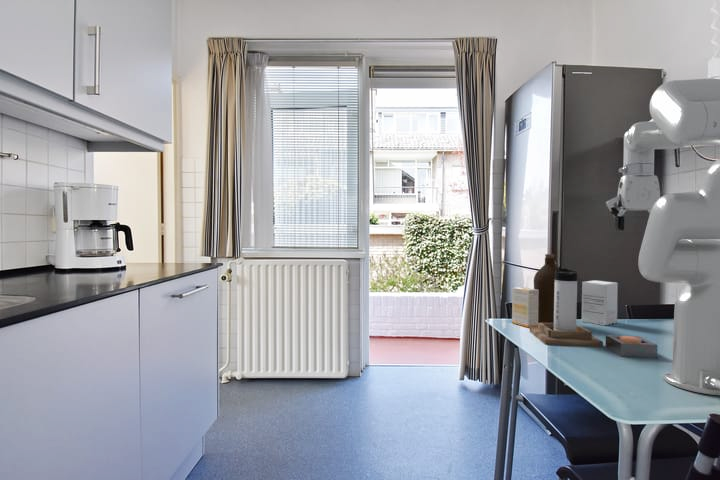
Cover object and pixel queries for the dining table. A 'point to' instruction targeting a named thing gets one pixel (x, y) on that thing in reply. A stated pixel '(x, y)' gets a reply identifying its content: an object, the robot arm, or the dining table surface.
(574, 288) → the travel mug
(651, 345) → the button housing
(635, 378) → the dining table surface
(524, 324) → the supplement box
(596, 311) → the supplement box
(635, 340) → the button
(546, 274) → the olive oil
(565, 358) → the dining table surface
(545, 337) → the tan flat square tray
